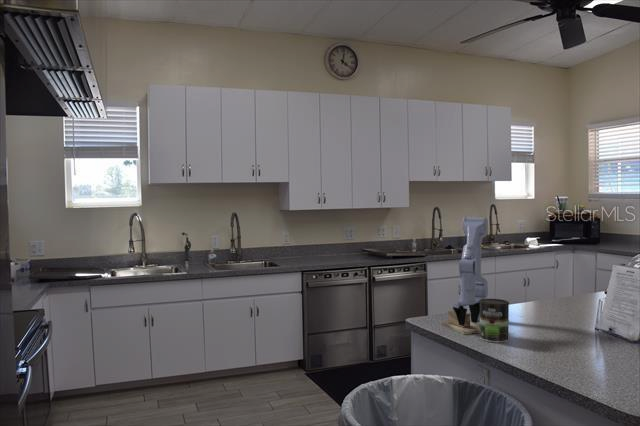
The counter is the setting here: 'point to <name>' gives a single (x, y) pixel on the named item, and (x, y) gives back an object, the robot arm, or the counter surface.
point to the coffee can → (494, 320)
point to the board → (466, 330)
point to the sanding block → (454, 321)
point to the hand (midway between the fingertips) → (467, 323)
